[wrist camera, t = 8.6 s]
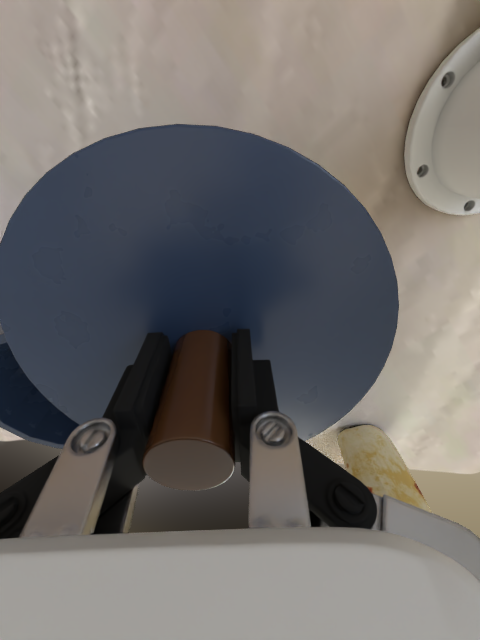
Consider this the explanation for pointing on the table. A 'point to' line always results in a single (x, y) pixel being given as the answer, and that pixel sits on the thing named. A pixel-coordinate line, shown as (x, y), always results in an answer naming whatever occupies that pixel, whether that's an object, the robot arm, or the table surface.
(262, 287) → the lid
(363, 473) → the food model
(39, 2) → the table surface
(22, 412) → the pot
